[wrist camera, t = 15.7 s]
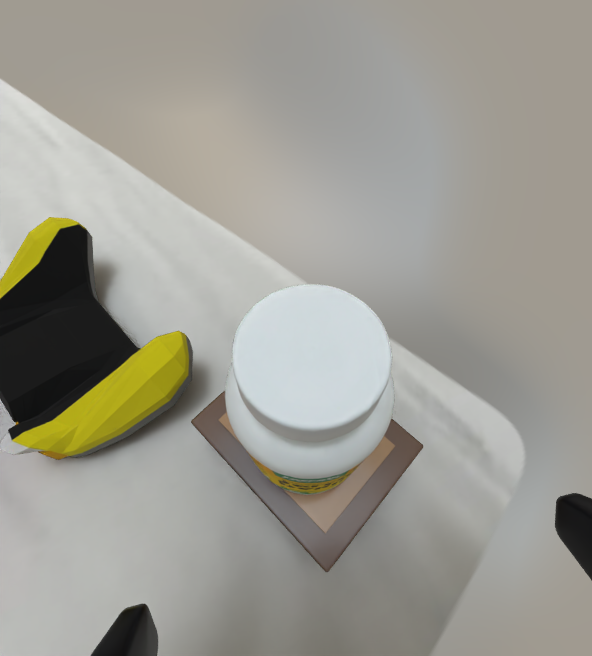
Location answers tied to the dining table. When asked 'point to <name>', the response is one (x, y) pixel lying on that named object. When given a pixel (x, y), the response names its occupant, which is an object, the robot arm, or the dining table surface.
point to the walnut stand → (323, 508)
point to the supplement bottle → (310, 386)
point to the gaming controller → (75, 353)
